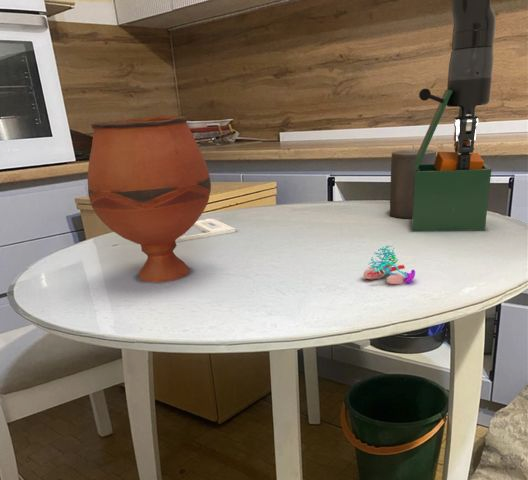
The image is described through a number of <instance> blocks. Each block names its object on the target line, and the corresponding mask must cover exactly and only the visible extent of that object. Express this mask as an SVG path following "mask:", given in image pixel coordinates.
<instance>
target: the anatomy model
mask: <svg viewBox="0 0 528 480" xmlns="http://www.w3.org/2000/svg"><path fill="white" fill-rule="evenodd" d="M392 247H393V245H385V246H382V247H380V248H379V249H378V250H377V251H378V252H377V251H374V252H373V254H374V256H375V255H376V256H377V257H375V258H374V257H373V256H372V257H370V260H371V261H370V262H369V263H368V265H369V266H368V268H367V269H366V270H365V271H364V272H363V275H362V278H363V279H366V280H380V279H382V278H384V277H386V283H387V284H389V285H401V284H404V283H405V284H407V285H408V284H411V283H412V282H413V280H414V279H415V276H416V270H415V269H411V270H410V272H407V271H405V272H404V271H401V270H405V268H406V267H405V265H404V264H399V265H397V262H399V259H398V258H397V257H396V254H395V252H394V249H395V247H393V248H392ZM382 256H383V257H382ZM377 258H378V259H379V260H377ZM395 271H396V272H399V273H394V272H395ZM400 273H401V274H400ZM387 275H389V276H387Z"/></svg>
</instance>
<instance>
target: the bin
mask: <svg viewBox="0 0 528 480" xmlns="http://www.w3.org/2000/svg"><path fill="white" fill-rule="evenodd" d="M491 179H492V168H491V167H490V166H489V165H488V164H486V162H484V164H483V167H482V169H469V170H443V171H436V169H435V167H434V164H420V165H419V167H418V169H417V170H414V189H413V209H412V218H411V226H412V227H411V232H414V233H415V232H417V233H418V232H425V233H426V232H485V231H486V225H487V215H488V204H489V196H490V187H491Z"/></svg>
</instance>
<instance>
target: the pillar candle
mask: <svg viewBox="0 0 528 480" xmlns="http://www.w3.org/2000/svg"><path fill="white" fill-rule="evenodd" d="M418 151H419V149H415V145H412V149H402V150H396V151H392V152H391V159H390V160H391V161H390V163H391V164H390V186H389V187H390V188H389V189H390V190H389V191H390V192H389V213H388V214H389V216H390V217H392V218H399V219H412V209H413V189H414V160H415V158H416V156H417V153H418ZM437 153H438V151H437V150H433V149H426V152H425V154H424V156H423V158H422V160H421V163H420V164H435V160H436V157H437Z"/></svg>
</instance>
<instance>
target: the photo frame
mask: <svg viewBox="0 0 528 480" xmlns="http://www.w3.org/2000/svg"><path fill="white" fill-rule="evenodd" d="M192 227H195V228H197V229H199V230H201V231H203V232H202V233H197V234H196V233H195V234H190V235H185V236H180V237H179V238H177V239H176V240H175V242H176V243H179V242H183V241H191V240H195V239H201V238H207V237H208V238H209V237H212V236H213V237H214V236H219V235H224V234H231V233H235V232H236V228H235V227H233V226H231V225H228V224H226V223H223V222H222V221H219V220H216V219H215V218H206V219H198V220H197V221H196V223H195V224H194V225H193V226H192Z"/></svg>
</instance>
